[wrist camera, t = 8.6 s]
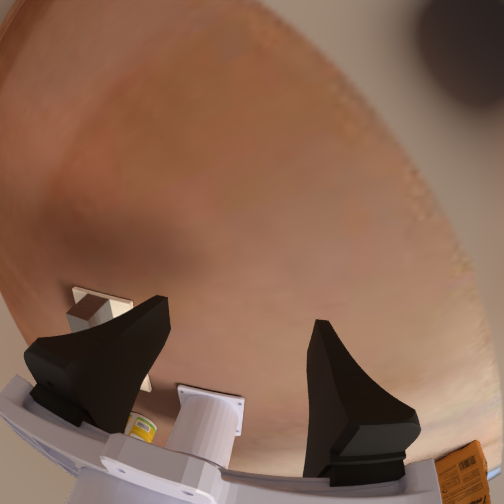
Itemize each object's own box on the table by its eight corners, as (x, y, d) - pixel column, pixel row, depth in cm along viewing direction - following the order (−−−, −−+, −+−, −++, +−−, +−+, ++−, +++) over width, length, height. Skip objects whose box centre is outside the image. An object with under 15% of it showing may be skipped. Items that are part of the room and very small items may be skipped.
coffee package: (479, 447, 33) (496, 516, 13) (433, 471, 37) (443, 542, 17) (481, 435, 30) (503, 514, 10) (430, 462, 34) (442, 544, 14)
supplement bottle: (133, 425, 37) (112, 467, 28) (122, 407, 35) (97, 452, 26) (161, 433, 36) (141, 478, 27) (151, 416, 34) (128, 465, 25)
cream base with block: (151, 389, 31) (138, 415, 27) (102, 371, 32) (86, 394, 27) (132, 300, 25) (108, 327, 21) (75, 286, 26) (49, 307, 22)
